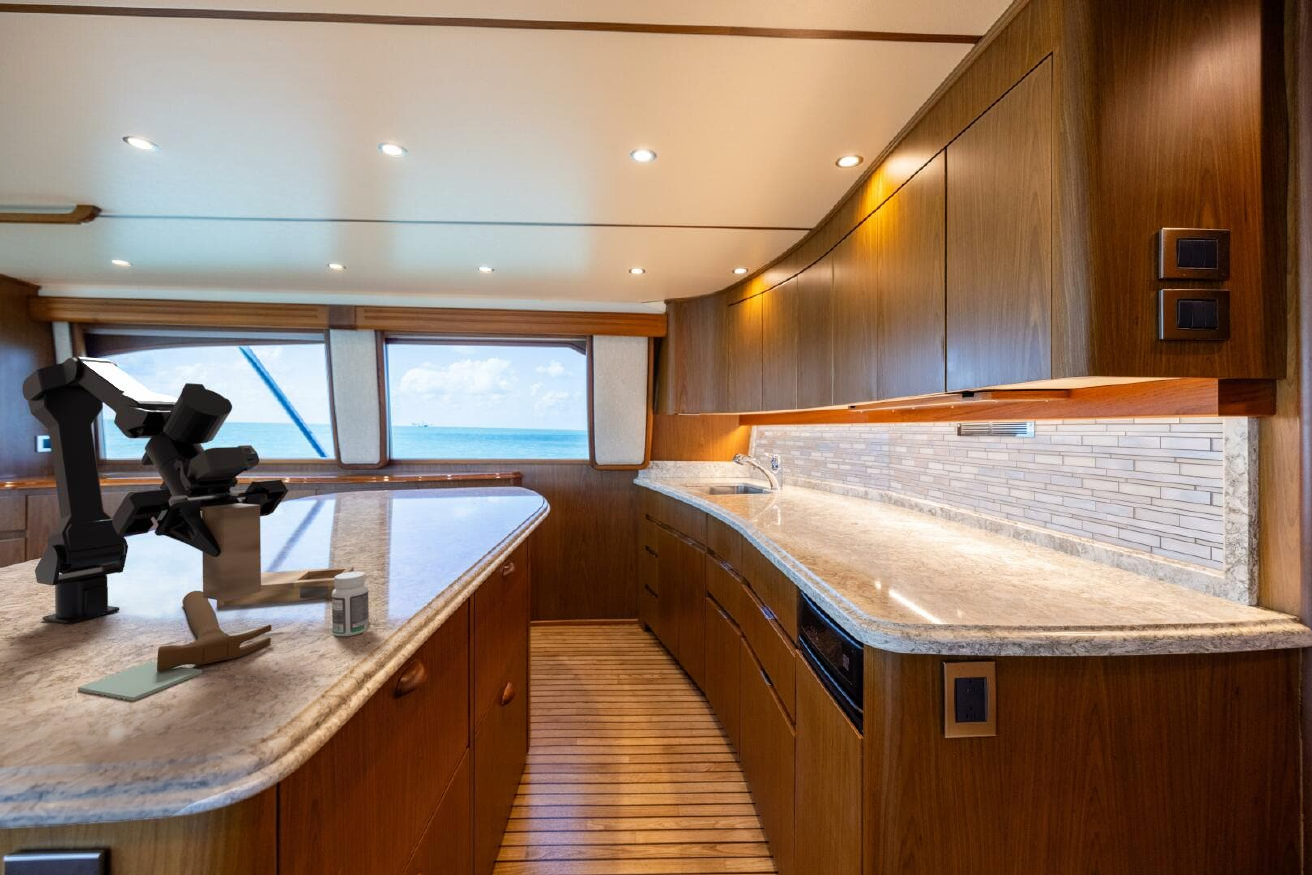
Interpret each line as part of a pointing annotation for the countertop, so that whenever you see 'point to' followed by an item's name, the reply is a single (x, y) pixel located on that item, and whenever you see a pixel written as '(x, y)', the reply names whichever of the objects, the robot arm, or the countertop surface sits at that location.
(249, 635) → the hammer
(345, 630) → the pill bottle
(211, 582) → the brown wooden block
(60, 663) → the countertop surface
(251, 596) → the slotted wooden slab
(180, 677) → the rubber mat
